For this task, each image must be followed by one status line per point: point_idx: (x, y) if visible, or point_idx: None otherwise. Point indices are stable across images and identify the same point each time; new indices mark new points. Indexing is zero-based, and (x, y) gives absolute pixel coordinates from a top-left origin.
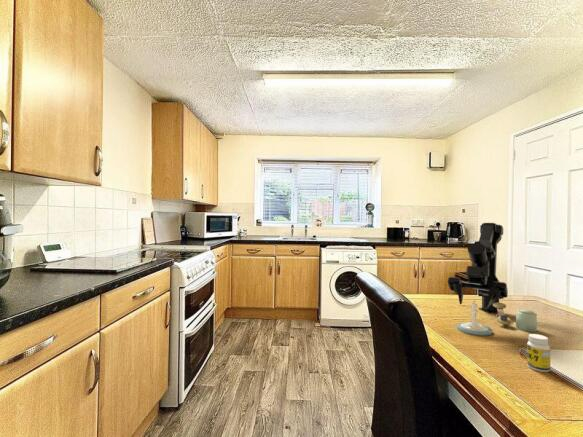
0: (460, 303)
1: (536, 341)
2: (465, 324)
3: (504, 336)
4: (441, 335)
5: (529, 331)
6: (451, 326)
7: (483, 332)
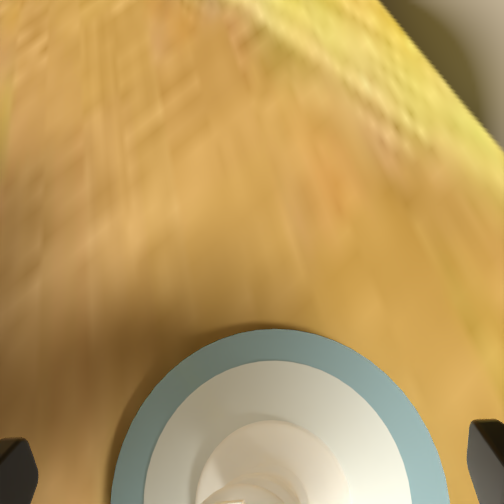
0: (476, 427)
1: None
2: None
3: None
4: (422, 150)
5: None
6: None
7: (172, 379)
